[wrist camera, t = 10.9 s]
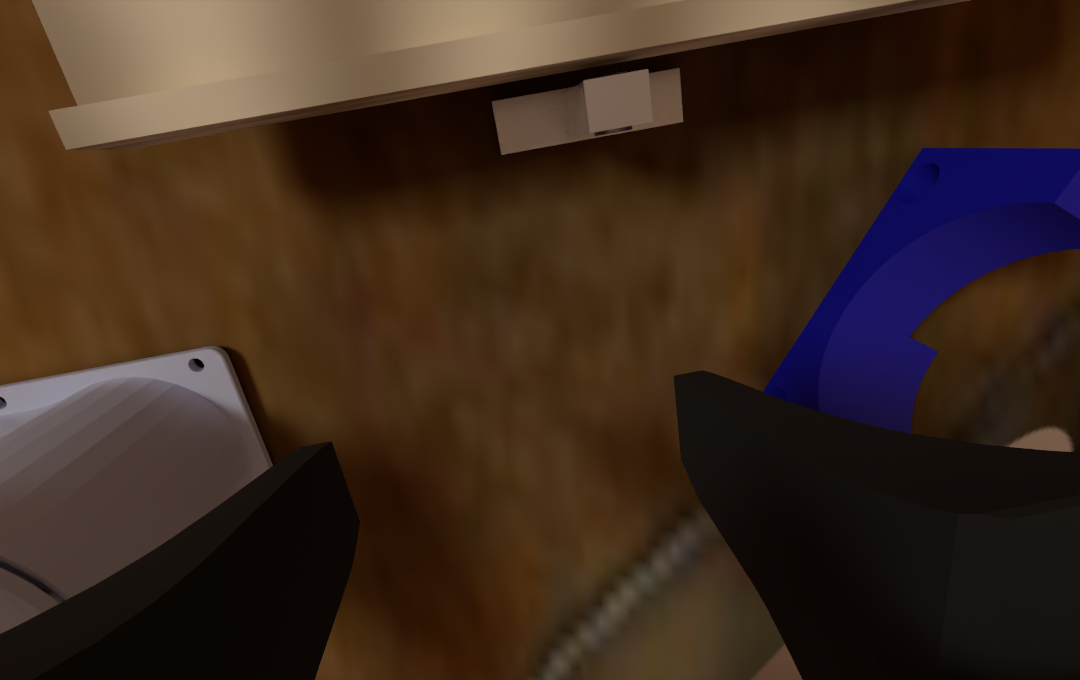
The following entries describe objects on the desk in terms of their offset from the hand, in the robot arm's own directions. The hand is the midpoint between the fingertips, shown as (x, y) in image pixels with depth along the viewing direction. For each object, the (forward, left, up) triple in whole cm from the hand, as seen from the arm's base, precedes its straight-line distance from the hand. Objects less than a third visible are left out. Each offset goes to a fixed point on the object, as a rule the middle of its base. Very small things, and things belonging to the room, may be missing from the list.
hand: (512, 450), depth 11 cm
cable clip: (+14, -3, -10) cm, 18 cm away
